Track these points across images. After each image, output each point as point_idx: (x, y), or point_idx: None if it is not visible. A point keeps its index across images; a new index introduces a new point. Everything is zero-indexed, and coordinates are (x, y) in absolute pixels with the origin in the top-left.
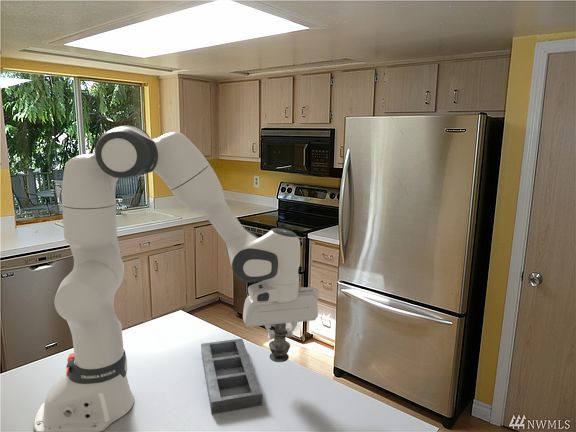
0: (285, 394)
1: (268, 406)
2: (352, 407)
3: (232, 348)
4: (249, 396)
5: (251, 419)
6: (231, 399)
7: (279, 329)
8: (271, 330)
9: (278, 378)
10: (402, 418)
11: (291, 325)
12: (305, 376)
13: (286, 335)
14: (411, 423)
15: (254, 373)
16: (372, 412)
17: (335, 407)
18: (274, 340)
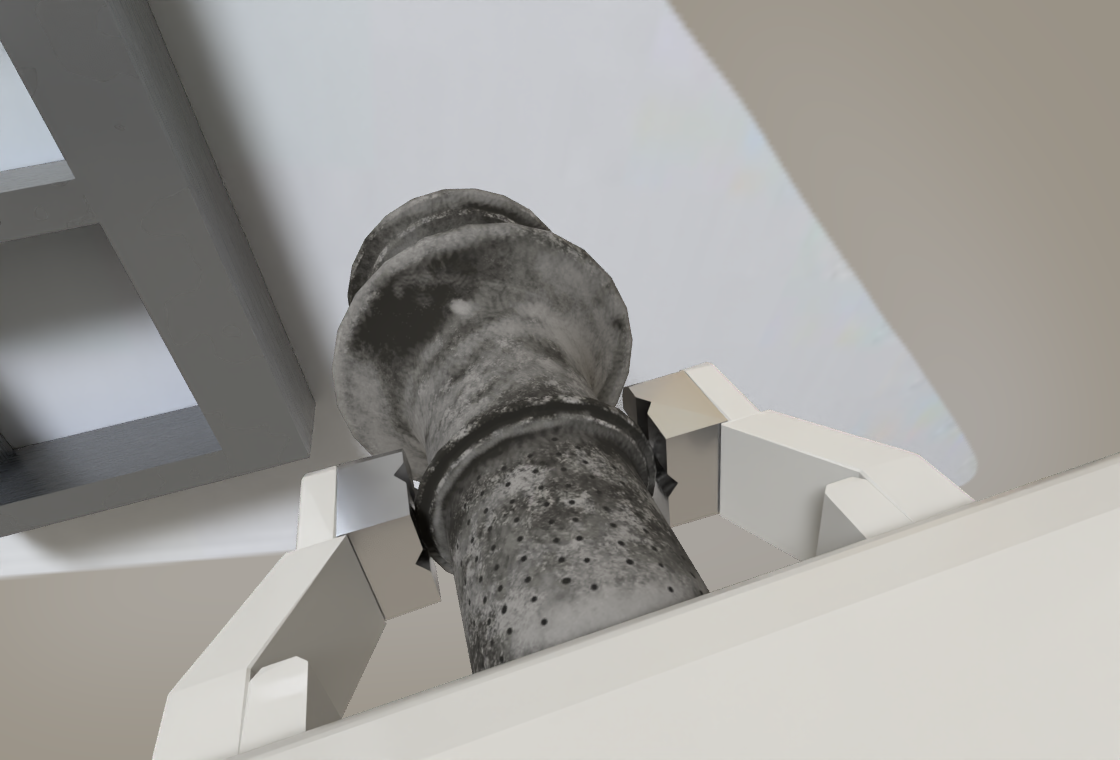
0: None
1: None
2: (807, 399)
3: None
4: (213, 477)
5: (262, 506)
6: (72, 514)
7: None
8: (374, 543)
9: (431, 99)
10: (956, 452)
11: (800, 494)
12: (655, 91)
13: (630, 415)
14: (965, 473)
15: (193, 208)
16: (871, 426)
17: None
18: (423, 443)
